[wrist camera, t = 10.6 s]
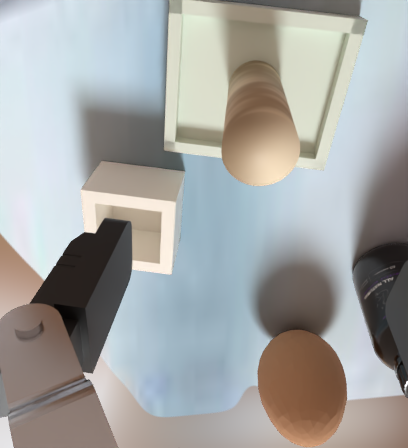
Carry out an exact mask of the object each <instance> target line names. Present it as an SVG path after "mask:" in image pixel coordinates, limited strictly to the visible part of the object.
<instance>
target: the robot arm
mask: <svg viewBox="0 0 408 448" xmlns="http://www.w3.org/2000/svg"><path fill="white" fill-rule="evenodd" d="M131 271H132V224H131V221H126V220H119V219H111V218H104V219H103V221H102V223H101V224H100V226H99V228H98V229H97V231H96V233H89V232H84V233H83V234H81V235H80V236H78V237H77V238H75V239H74V240H72V241H71V242H70V244H69V245H68V247H67V248H66V250H65V251H64V253H63V256H61V257H60V259H59V260H58V262H57V263H56V266H54V268H53V269H52V271H51V272H50V274H49V275H48V277H47V278H46V280H45V281H44V283H43V284H42V286H41V287H40V289H39V290H38V292H37V293H36V295H35V296H34V298H33V299H32V301H31V302H30V304H27V305H23V306H20V307H17V308H15V309H13V310H11V311H10V312H8V313H7V314H6V315H4V316H3V317H2V318H1V319H0V417H6V416H8V420H9V426H10V431H11V436H12V441H13V446H14V448H118V446H117V443H116V441H115V439H114V436H113V433H112V431H111V428H110V426H109V423H108V421H107V418H106V416H105V414H104V411H103V408H102V406H101V403H100V401H99V398H98V396H97V394H96V391H95V389H94V387H93V384H92V383H91V381H90V380H86V378H85V376H84V374H83V372H87V373H93V371H94V369H95V366H96V364H97V361H98V358H99V356H100V354H101V351H102V349H103V346H104V344H105V341H106V339H107V336H108V333H109V331H110V328H111V326H112V323H113V321H114V318H115V316H116V313H117V311H118V308H119V306H120V303H121V301H122V298H123V296H124V293H125V291H126V288H127V286H128V283H129V280H130V276H131ZM385 313H386V319H387V322H388V324H389V327H390V330H391V332H392V335H393V338H394V340H395V343H396V346H397V348H398V351H399V354H400V356H401V359H402V362H403V364H404V367H405V370H406V372H407V375H408V260H407V261H406V262H405V263H404V265H403V267H402V269H401V271H400V273H399V275H398V277H397V279H396V281H395V283H394V286H393V288H392V290H391V292H390V294H389V296H388V298H387V301H386V307H385Z"/></svg>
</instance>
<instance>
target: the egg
mask: <svg viewBox="0 0 408 448" xmlns="http://www.w3.org/2000/svg"><path fill="white" fill-rule="evenodd" d="M258 389H259V393H260V397H261V401H262V405H263V407H264V409H265V410H266V413H267V414H268V417H269V418H270V420H271V422H272V423H273V425H274V426H275V427H276V429H277V430H278V431H279V433H280V434H281V435H283V436H284V437H285V438H286V439H288V440H289V441H290V442H292V443H294V444H297V445H300V446H303V447H314V446H318V445H321V444H323V443H324V442H326V441H327V440H328V439H329V438H330V437H331V436H332V435H333V434H334V433H335V432H336V430H337V428H338V426H339V424H340V422H341V420H342V417H343V413H344V410H345V405H346V401H347V384H346V378H345V374H344V370H343V367H342V364H341V362H340V360H339V358H338V356H337V354H336V352H335V351H334V350H333V349H332V347H331V346H330V345H329V344H328V343H327V342H326V341H325V340H323V339H322V338H321V337H319V336H318V335H315V334H313V333H311V332H309V331H305V330H289V331H286V332H283V333H280V334H279V335H278V336H276V337H275V338H274V339H272V340H271V341H270V343H269V344H268V345H267V347H266V348H265V350H264V351H263V353H262V356H261V358H260V362H259V367H258Z"/></svg>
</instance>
